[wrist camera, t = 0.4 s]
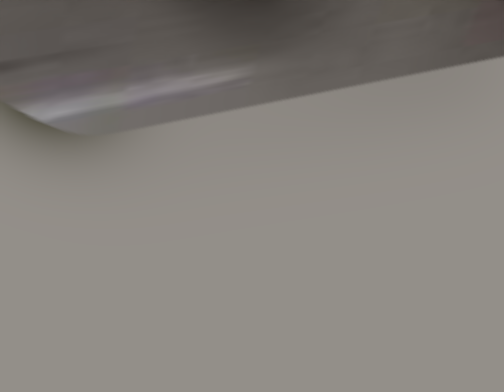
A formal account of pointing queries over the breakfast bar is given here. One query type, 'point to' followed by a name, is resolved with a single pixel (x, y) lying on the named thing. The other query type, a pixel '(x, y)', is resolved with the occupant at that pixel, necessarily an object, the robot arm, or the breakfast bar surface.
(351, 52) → the breakfast bar surface
